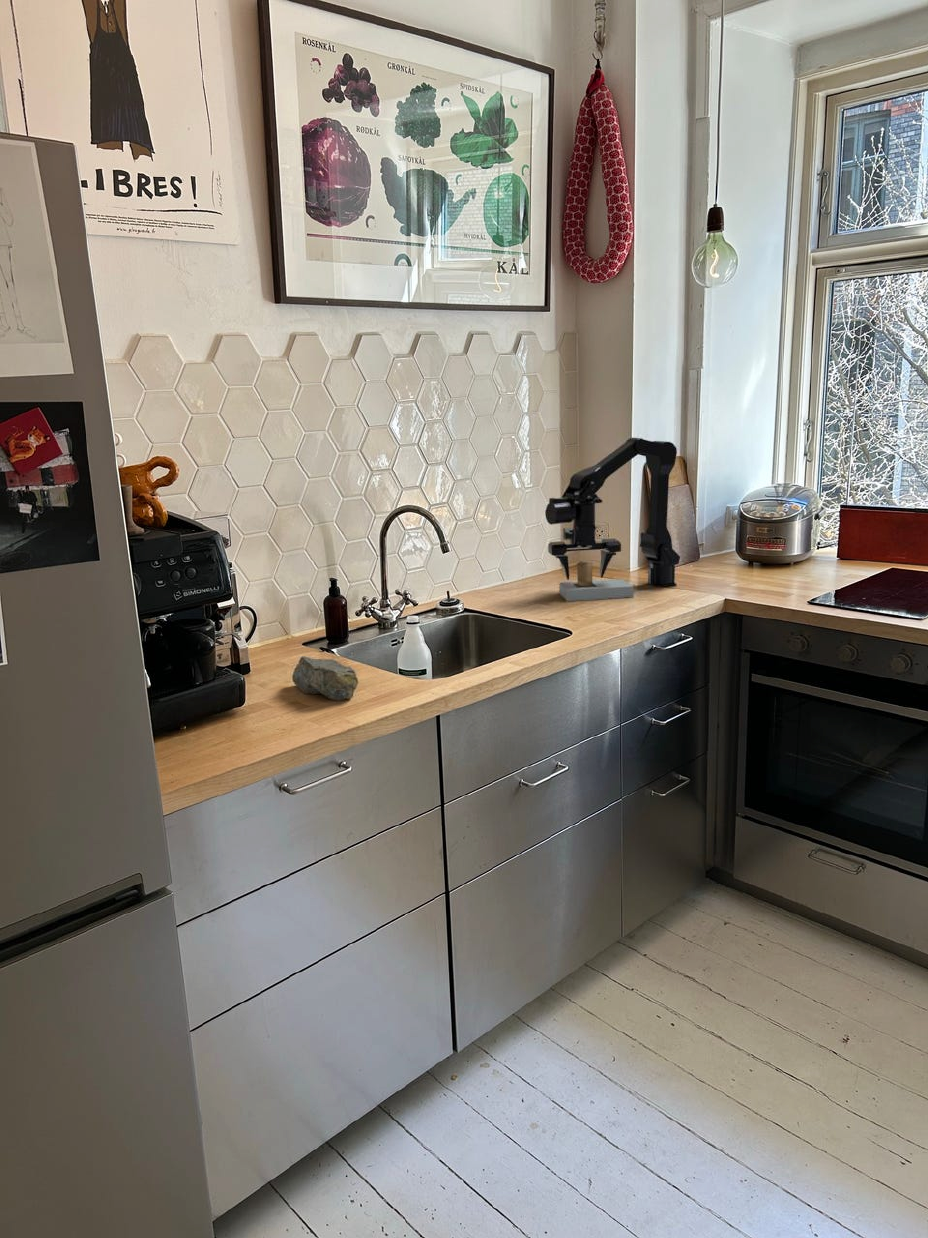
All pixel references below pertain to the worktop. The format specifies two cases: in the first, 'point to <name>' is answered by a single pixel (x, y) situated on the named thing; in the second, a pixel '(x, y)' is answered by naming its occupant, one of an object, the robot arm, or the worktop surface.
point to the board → (596, 590)
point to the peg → (584, 574)
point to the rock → (325, 678)
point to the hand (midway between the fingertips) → (584, 578)
